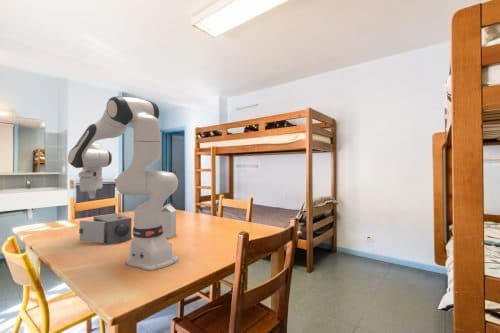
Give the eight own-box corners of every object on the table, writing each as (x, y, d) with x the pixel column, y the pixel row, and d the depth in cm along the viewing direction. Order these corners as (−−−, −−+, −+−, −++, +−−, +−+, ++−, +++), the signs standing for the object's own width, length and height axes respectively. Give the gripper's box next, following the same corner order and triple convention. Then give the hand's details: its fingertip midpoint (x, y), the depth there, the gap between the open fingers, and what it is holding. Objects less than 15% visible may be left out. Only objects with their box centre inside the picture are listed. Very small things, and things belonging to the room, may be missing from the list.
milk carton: (176, 235, 140) (176, 203, 140) (171, 238, 133) (171, 205, 133) (164, 234, 141) (165, 203, 141) (159, 238, 134) (159, 205, 134)
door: (106, 242, 122) (106, 222, 122) (103, 243, 120) (103, 223, 120) (81, 240, 126) (81, 220, 126) (77, 241, 124) (78, 221, 124)
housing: (133, 240, 129) (133, 217, 130) (109, 245, 120) (110, 221, 120) (115, 233, 143) (115, 212, 143) (93, 237, 134) (93, 215, 134)
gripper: (93, 172, 137) (93, 196, 137) (76, 173, 117) (76, 201, 117) (105, 172, 138) (105, 195, 138) (91, 173, 118) (90, 200, 118)
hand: (92, 198), depth 127 cm, fingers closed
